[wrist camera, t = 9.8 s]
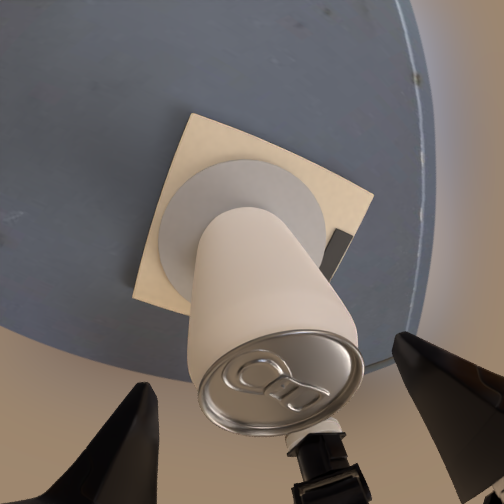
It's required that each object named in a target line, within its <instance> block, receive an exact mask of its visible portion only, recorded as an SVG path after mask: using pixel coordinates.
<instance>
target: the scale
mask: <svg viewBox="0 0 504 504" xmlns="http://www.w3.org/2000/svg"><path fill="white" fill-rule="evenodd" d="M373 197H374V195H373V194H372V193H370V192H368V191H367V190H365V189H363V188H361V187H359V186H357V185H356V184H354V183H352V182H350V181H348V180H346V179H344V178H343V177H341V176H339V175H337V174H335V173H333V172H331V171H329V170H327V169H325V168H323V167H321V166H319V165H317V164H315V163H313V162H311V161H309V160H307V159H305V158H303V157H300V156H298V155H296V154H294V153H292V152H290V151H287V150H285V149H283V148H281V147H279V146H276V145H274V144H272V143H269V142H267V141H265V140H262V139H260V138H258V137H255V136H253V135H250V134H248V133H245V132H243V131H240V130H238V129H235V128H233V127H230V126H228V125H225V124H222V123H220V122H217V121H214V120H211V119H209V118H206V117H203V116H200V115H197V114H194V113H191V115H190V118H189V120H188V123H187V125H186V127H185V130H184V132H183V135H182V137H181V140H180V142H179V145H178V148H177V150H176V153H175V156H174V158H173V161H172V164H171V166H170V169H169V172H168V175H167V178H166V181H165V183H164V186H163V189H162V192H161V195H160V198H159V201H158V205H157V208H156V211H155V214H154V217H153V221H152V224H151V227H150V231H149V234H148V238H147V241H146V245H145V248H144V252H143V256H142V259H141V263H140V267H139V271H138V275H137V279H136V283H135V288H134V292H133V296H132V297H133V298H135V299H137V300H140V301H143V302H146V303H149V304H153V305H156V306H159V307H162V308H165V309H168V310H171V311H175V312H178V313H181V314H185V315H188V316H190V308H191V298H192V288H193V279H194V271H195V263H196V256H197V249H198V244H199V241H200V238H201V236H202V234H203V232H204V231H205V229H206V228H207V226H208V225H209V224H210V223H211V222H212V220H214V219H215V218H216V217H217V216H218V215H220V214H222V213H224V212H226V211H229V210H232V209H235V208H241V207H254V208H260V209H263V210H266V211H268V212H270V213H272V214H274V215H275V216H277V217H278V218H279V219H280V220H281V221H282V222H283V223H284V224H285V225H286V226H287V227H288V229H289V230H290V231H291V232H292V234H293V235H294V236H295V237H296V239H297V240H298V241H299V243H300V244H301V245H302V247H303V248H304V249H305V251H306V252H307V253H308V255H309V256H310V257H311V259H312V260H313V261H314V263H315V264H316V266H317V267H318V268H319V270H320V271H321V272H322V274H323V275H324V277H325V278H326V279H327V281H328V282H330V280H331V278H332V277H333V275H334V273H335V271H336V269H337V268H338V266H339V264H340V262H341V260H342V258H343V256H344V255H345V253H346V251H347V249H348V247H349V245H350V243H351V241H352V239H353V237H354V235H355V233H356V231H357V229H358V227H359V225H360V223H361V221H362V219H363V217H364V215H365V213H366V211H367V209H368V207H369V205H370V203H371V201H372V199H373Z"/></svg>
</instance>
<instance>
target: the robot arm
mask: <svg viewBox="0 0 504 504" xmlns="http://www.w3.org/2000/svg"><path fill="white" fill-rule="evenodd" d="M392 355H393V357H394V360H395V362H396V364H397V367H398V369H399V372H400V374H401V377H402V379H403V382H404V384H405V386H406V388H407V390H408V392H409V394H410V396H411V397H412V399H413V401H414V403H415V405H416V407H417V409H418V411H419V413H420V414H421V417H422V419H423V421H424V423H425V424H426V426H427V428H428V430H429V433H430V435H431V437H432V439H433V440H434V443H435V445H436V447H437V449H438V451H439V453H440V455H441V458H442V460H443V462H444V464H445V466H446V469H447V471H448V473H449V476H450V478H451V480H452V482H453V485H454V487H455V489H456V492H457V494H458V497H459V499H460V501H461V503H462V504H464V503H466V502H467V501H469V500H470V499H472V498H474V497H475V496H477V495H478V494H480V493H481V492H483V491H484V490H485V489H487V488H489V487H490V486H491V485H492V487H493V489H494V490H493V491H492V492H491V493H490V494H489V495H487V496H486V497H485V499H484V503H483V504H504V377H503V376H501V375H498V374H495V373H493V372H491V371H489V370H486V369H484V368H482V367H480V366H477V365H476V364H474V363H471V362H469V361H467V360H465V359H463V358H461V357H459V356H457V355H454V354H452V353H450V352H448V351H446V350H444V349H442V348H440V347H438V346H436V345H434V344H431V343H430V342H427V341H425V340H423V339H421V338H419V337H417V336H415V335H413V334H411V333H409V332H406V331H405V332H401V333H398V334H397V335H396V336H395V339H394V344H393V348H392ZM345 436H346V433H345V432H336V433H309V434H307V435H306V436H305V437H304V438H303V439H302V440H301V441H300V442H299V443H298V444H297V445H295V446H294V447H293V448H292V449H291V450H290V451H289V452H288V453H287V456H288V457H297V459H298V463H299V467H300V471H301V474H302V478H303V482H301V483H296V484H294V487H293V488H291V490H292V494H293V498H294V504H369V503H368V502H369V501H371V500H372V497H371V493H370V490H369V487H368V485H367V483H366V480H365V478H364V476H363V474H362V472H361V470H360V468H359V465H358V463H356V464H353V465H352V466H349V463H348V460H347V457H348V456H347V454H346V451H345V448H344V446H343V443H342V441H341V440H342V439H343V438H344V437H345ZM158 450H159V422H158V400H157V396H156V395H155V393H154V391H153V389H152V387H151V385H150V384H149V383H148V382H141V383H137V384H136V385H135V386H134V388H133V389H132V390H131V391H130V392H129V394H128V395H127V396H126V397H125V399H124V400H123V401H122V403H121V404H120V405H119V406H118V408H117V409H116V410H115V411H114V413H113V414H112V415H111V416H110V418H109V419H108V420H107V422H106V423H105V424H104V425H103V427H102V428H101V429H100V430H99V432H98V433H97V434H96V436H95V437H94V438H93V439H92V441H91V442H90V443H89V445H88V446H87V447H86V449H85V450H84V451H83V452H82V453H81V455H80V456H79V457H78V458H77V460H76V461H75V462H74V463H73V464H72V465H71V467H70V468H69V469H68V470H67V471H66V472H65V473H64V474H63V475H62V476H61V477H60V478H59V479H58V480H57V481H56V482H55V483H54V484H53V485H52V486H51V487H50V488H49V489H48V490H47V491H46V492H45V493H43V494H42V495H40V496H38V497H35V498H31V499H26V500H21V501H15V502H10V503H3V504H157V473H158Z"/></svg>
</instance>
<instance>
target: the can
mask: <svg viewBox="0 0 504 504" xmlns="http://www.w3.org/2000/svg"><path fill="white" fill-rule="evenodd" d="M187 363H188V371H189V374H190V377H191V380H192V382H193V384H194V386H195V388H196V389H197V391H198V402H199V405H200V408H201V410H202V412H203V413H204V415H205V416H206V417H207V418H208V419H209V420H210V421H211V422H212V423H214V424H215V425H216V426H218V427H220V428H222V429H224V430H226V431H229V432H232V433H235V434H239V435H244V436H252V437H272V436H281V435H287V434H291V433H295V432H299V431H302V430H305V429H307V428H310V427H312V426H315V425H317V424H319V423H321V422H323V421H324V420H326V419H328V418H329V417H331V416H332V415H334V414H335V413H336V412H338V411H339V410H340V409H342V407H344V406H345V405H346V404H347V403H348V402H349V401H350V399H351V398H352V397H353V396H354V395H355V393H356V392H357V390H358V388H359V386H360V384H361V382H362V379H363V375H364V361H363V357H362V355H361V353H360V351H359V349H358V337H357V330H356V326H355V324H354V321H353V319H352V317H351V315H350V313H349V312H348V310H347V309H346V307H345V305H344V304H343V302H342V301H341V299H340V298H339V296H338V295H337V294H336V292H335V291H334V289H333V288H332V286H331V285H330V284H329V282H328V281H327V279H326V278H325V277H324V275H323V274H322V272H321V271H320V270H319V268H318V267H317V266H316V264H315V263H314V261H313V260H312V259H311V257H310V256H309V255H308V253H307V252H306V251H305V249H304V248H303V247H302V245H301V244H300V243H299V241H298V240H297V239H296V237H295V236H294V235H293V234H292V232H291V231H290V230H289V229H288V227H287V226H286V225H285V224H284V223H283V222H282V221H281V220H280V219H279V218H278V217H277V216H275V215H274V214H272V213H270V212H268V211H266V210H263V209H260V208H254V207H241V208H235V209H232V210H229V211H226V212H224V213H222V214H220V215H218V216H217V217H216V218H215V219H214V220H212V222H211V223H210V224H209V225H208V226H207V228H206V229H205V231H204V232H203V234H202V236H201V238H200V241H199V244H198V249H197V256H196V263H195V271H194V279H193V288H192V298H191V308H190V319H189V331H188V347H187Z"/></svg>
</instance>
